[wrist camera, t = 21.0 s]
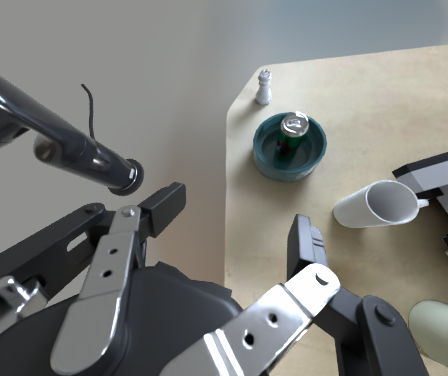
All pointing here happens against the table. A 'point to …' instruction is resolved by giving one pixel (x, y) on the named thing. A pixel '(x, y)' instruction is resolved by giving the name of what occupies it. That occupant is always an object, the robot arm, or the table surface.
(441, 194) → the game console
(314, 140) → the teal serving bowl
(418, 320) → the can
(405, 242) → the table surface
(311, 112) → the table surface
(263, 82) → the rook chess piece
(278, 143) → the soda can
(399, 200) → the mug
